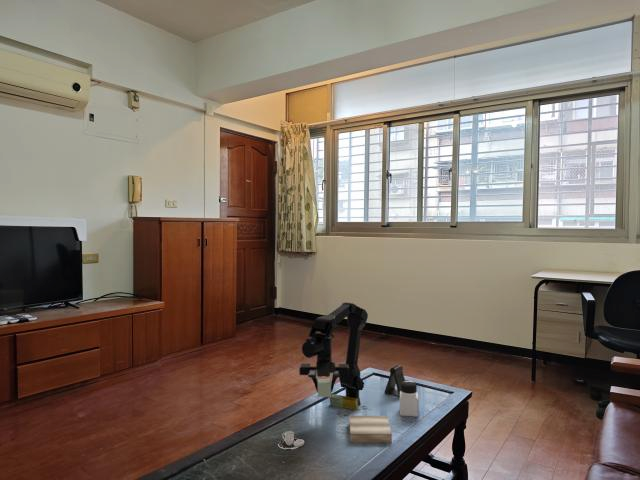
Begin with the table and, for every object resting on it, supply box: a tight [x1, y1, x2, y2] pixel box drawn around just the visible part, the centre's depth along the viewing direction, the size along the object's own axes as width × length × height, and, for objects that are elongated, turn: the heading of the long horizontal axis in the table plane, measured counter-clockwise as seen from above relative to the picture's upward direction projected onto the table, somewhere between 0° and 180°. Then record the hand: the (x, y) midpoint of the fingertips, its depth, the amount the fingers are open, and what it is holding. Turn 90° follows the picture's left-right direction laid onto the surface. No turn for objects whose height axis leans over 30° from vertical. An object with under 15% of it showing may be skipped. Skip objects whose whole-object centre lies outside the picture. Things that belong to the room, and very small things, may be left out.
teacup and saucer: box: [277, 430, 305, 450], centre depth 144 cm, size 9×8×4 cm
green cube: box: [317, 378, 332, 398], centre depth 162 cm, size 5×5×5 cm
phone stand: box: [384, 364, 406, 398], centre depth 188 cm, size 9×6×12 cm, turn 50°
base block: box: [348, 415, 393, 443], centre depth 151 cm, size 14×14×3 cm
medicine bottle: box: [399, 380, 419, 418], centre depth 168 cm, size 7×7×12 cm
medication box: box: [329, 393, 359, 411], centre depth 174 cm, size 12×3×4 cm, turn 60°
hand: (324, 391), depth 162 cm, fingers closed on green cube, 5 cm apart
